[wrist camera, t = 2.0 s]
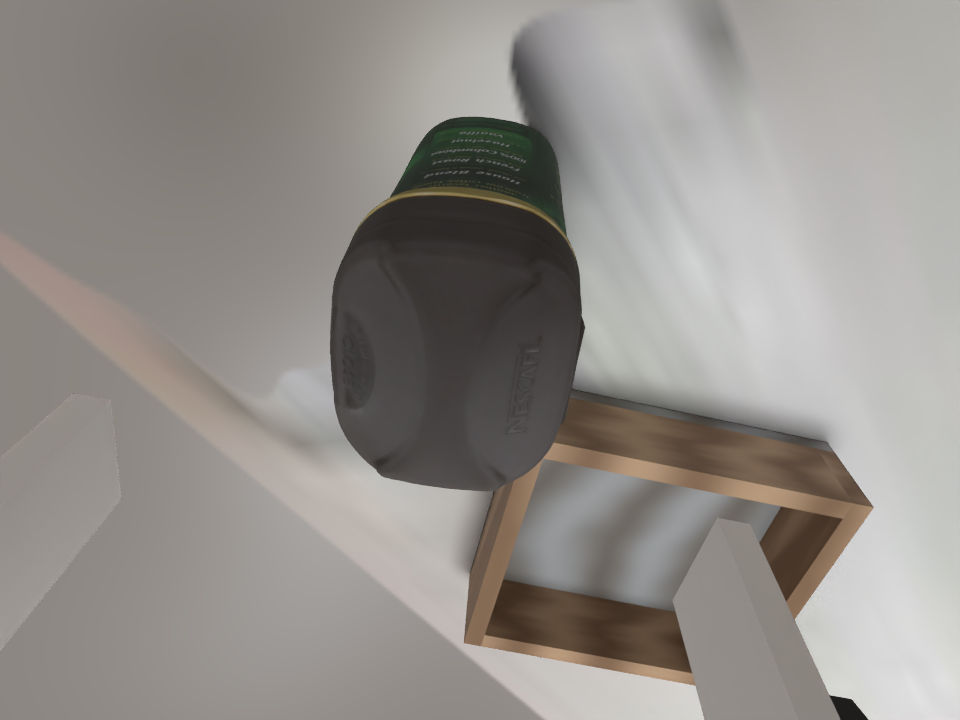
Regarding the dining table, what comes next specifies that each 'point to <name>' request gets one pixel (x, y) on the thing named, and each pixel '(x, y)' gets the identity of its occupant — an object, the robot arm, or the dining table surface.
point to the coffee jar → (460, 312)
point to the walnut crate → (646, 531)
